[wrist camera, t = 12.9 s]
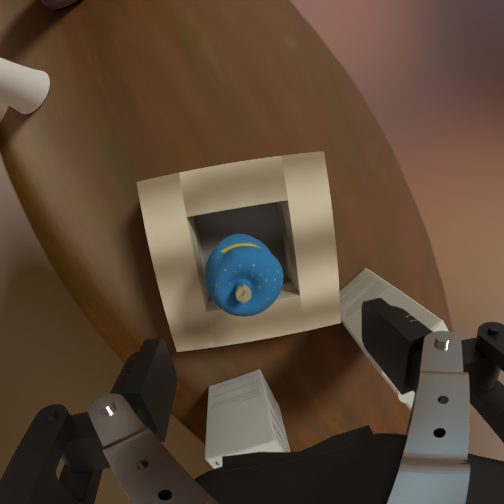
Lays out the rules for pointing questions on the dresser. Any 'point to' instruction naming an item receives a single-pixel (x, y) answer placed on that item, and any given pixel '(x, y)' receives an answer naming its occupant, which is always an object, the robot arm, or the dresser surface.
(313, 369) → the dresser surface
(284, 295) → the socket block
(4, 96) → the cosmetic bottle
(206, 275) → the ornament
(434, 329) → the skincare box
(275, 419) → the supplement box
